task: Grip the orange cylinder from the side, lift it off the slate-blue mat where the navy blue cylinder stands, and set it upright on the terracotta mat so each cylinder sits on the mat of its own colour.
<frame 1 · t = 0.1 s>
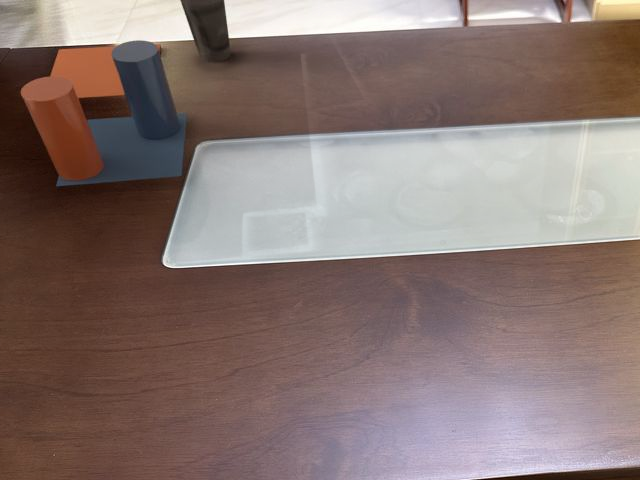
orange cylinder: (81, 167, 92), point 1 cm above the table, touching blue mat
blue mat: (126, 151, 96), on the table
beverage cup: (216, 59, 113), on the table
terracotta mat: (105, 74, 109), on the table
navy blue cylinder: (159, 128, 99), point 1 cm above the table, touching blue mat
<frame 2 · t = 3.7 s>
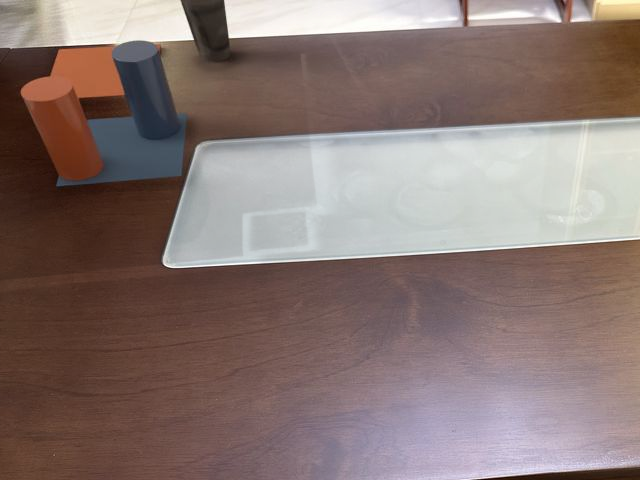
nothing on the table moved.
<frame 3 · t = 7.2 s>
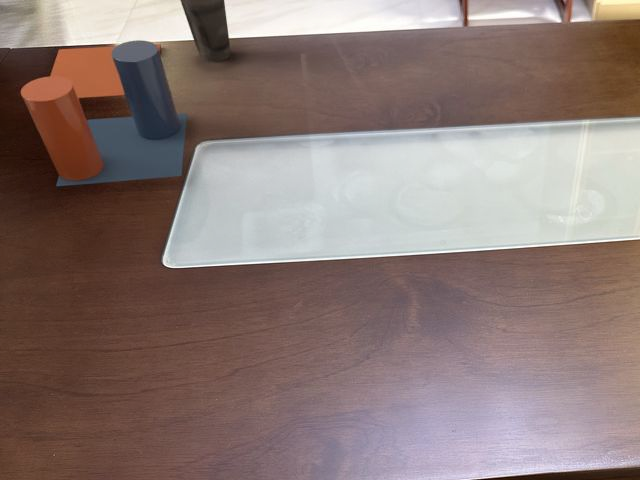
nothing on the table moved.
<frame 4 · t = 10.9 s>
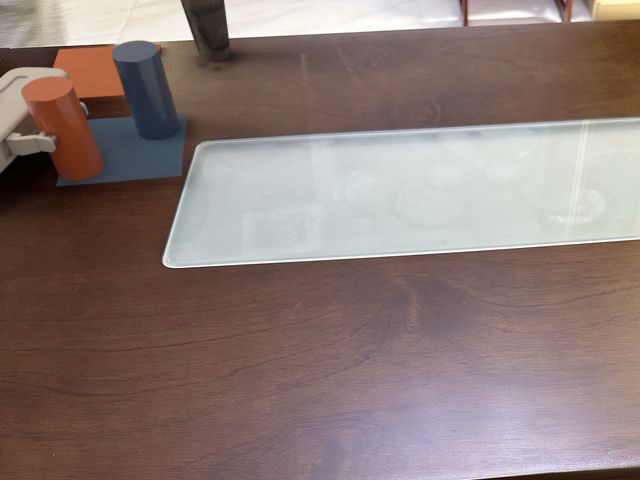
hand: (70, 127, 88), 7 cm above the table, tool horizontal, fingers closed on orange cylinder, 5 cm apart
orange cylinder: (81, 167, 92), point 1 cm above the table, touching blue mat, gripper
everything else where it was.
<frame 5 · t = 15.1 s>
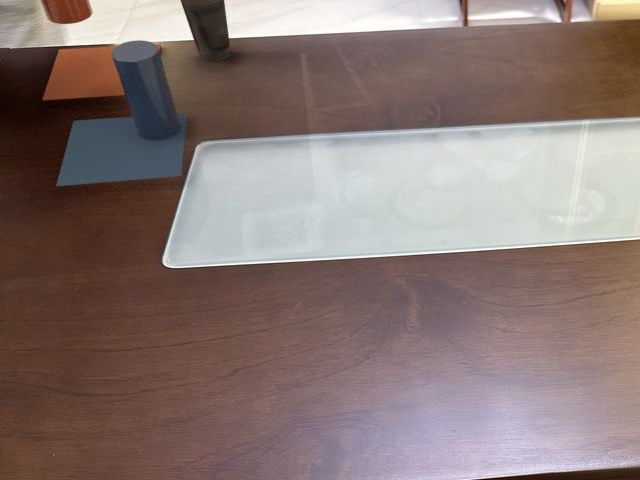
orange cylinder: (70, 14, 95), point 12 cm above the table, touching gripper
everything else where it was.
when the fingers open (7 cm above the table, at t = 19.4 s): orange cylinder stays where it is, resting on terracotta mat.
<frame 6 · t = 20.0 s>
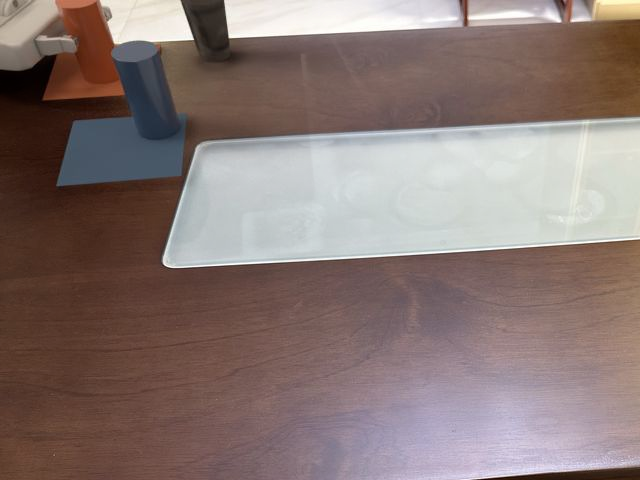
hand: (93, 29, 102), 7 cm above the table, tool horizontal, fingers open, 8 cm apart
orange cylinder: (103, 74, 107), point 1 cm above the table, touching terracotta mat
everything else where it was.
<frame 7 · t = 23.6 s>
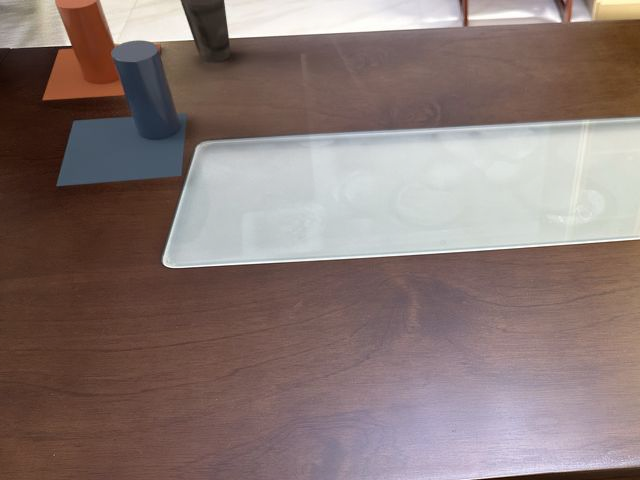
nothing on the table moved.
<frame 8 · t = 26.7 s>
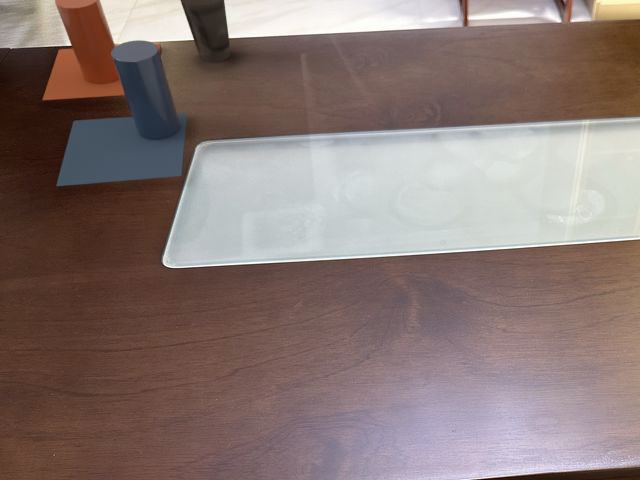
nothing on the table moved.
at the end: orange cylinder inside the target area on the terracotta mat (1.2 cm from its centre), point 0.6 cm above the terracotta mat's base; orange cylinder tilted 0°; navy blue cylinder inside the target area on the blue mat (5.7 cm from its centre), point 0.6 cm above the blue mat's base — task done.
